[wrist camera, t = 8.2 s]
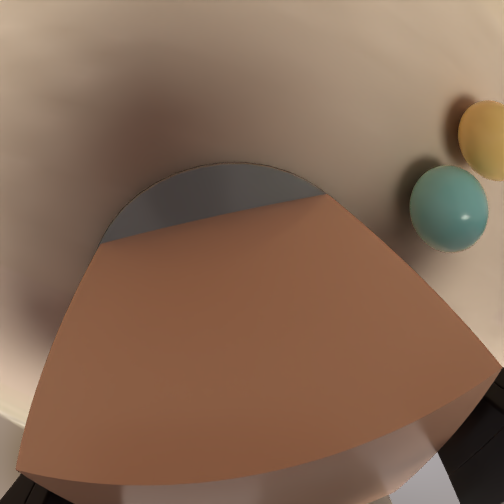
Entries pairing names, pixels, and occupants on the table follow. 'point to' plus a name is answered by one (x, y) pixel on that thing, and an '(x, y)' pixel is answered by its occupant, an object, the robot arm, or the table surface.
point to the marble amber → (483, 139)
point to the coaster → (207, 196)
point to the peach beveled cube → (250, 367)
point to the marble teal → (449, 209)
